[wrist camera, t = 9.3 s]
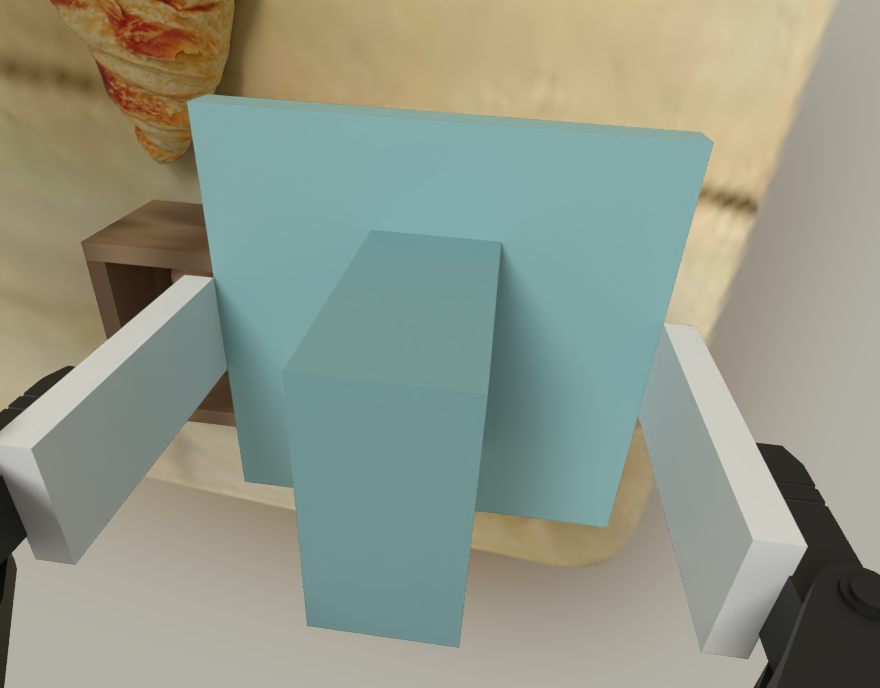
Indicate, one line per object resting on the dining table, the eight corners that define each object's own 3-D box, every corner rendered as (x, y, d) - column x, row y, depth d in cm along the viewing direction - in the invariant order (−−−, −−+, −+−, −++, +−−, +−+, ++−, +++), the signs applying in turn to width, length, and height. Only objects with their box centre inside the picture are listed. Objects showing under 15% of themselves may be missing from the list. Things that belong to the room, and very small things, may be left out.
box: (183, 353, 42) (127, 413, 36) (152, 200, 37) (81, 241, 31) (336, 370, 42) (305, 434, 36) (329, 216, 36) (291, 262, 30)
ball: (189, 284, 38) (166, 306, 36) (181, 240, 37) (156, 259, 34) (235, 289, 38) (214, 311, 36) (229, 244, 37) (207, 264, 34)
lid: (274, 428, 21) (138, 670, 13) (236, 84, 15) (-35, 176, 8) (597, 467, 20) (641, 747, 13) (684, 118, 14) (852, 256, 7)
